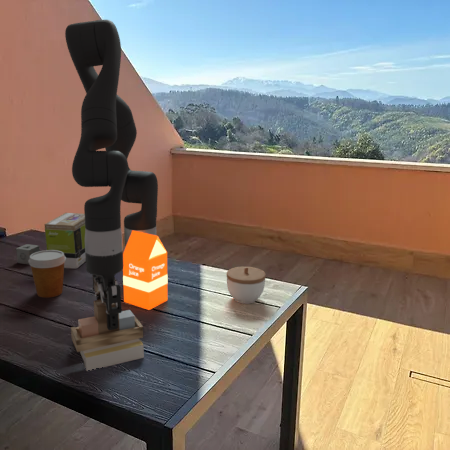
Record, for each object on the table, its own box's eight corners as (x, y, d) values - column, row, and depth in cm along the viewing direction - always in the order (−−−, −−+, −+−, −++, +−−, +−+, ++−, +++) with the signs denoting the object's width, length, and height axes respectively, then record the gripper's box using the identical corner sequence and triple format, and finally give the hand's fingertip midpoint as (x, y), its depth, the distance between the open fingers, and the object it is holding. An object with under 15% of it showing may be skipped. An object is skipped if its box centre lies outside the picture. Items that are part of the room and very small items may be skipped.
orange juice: (149, 314, 120) (147, 239, 115) (123, 305, 125) (121, 233, 120) (168, 303, 127) (167, 232, 122) (143, 295, 131) (141, 226, 126)
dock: (127, 332, 111) (127, 320, 110) (143, 357, 101) (143, 344, 100) (74, 344, 105) (74, 331, 104) (86, 371, 95) (85, 357, 94)
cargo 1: (95, 330, 102) (94, 316, 101) (98, 337, 99) (98, 323, 98) (79, 333, 101) (78, 319, 100) (82, 341, 98) (81, 326, 97)
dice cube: (17, 262, 154) (16, 248, 153) (27, 258, 159) (26, 244, 157) (30, 264, 153) (29, 250, 151) (40, 259, 157) (39, 245, 156)
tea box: (68, 252, 165) (65, 211, 161) (95, 254, 164) (93, 213, 160) (47, 267, 151) (43, 222, 147) (76, 269, 150) (74, 224, 146)
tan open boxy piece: (134, 325, 108) (133, 291, 106) (143, 337, 103) (142, 301, 101) (71, 338, 101) (69, 302, 99) (77, 352, 96) (74, 314, 94)
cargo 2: (130, 323, 106) (129, 309, 105) (134, 330, 103) (134, 315, 102) (115, 326, 104) (114, 312, 103) (119, 333, 101) (119, 318, 100)
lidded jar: (269, 295, 134) (271, 264, 131) (256, 310, 124) (257, 277, 122) (235, 288, 138) (236, 258, 135) (219, 302, 128) (220, 270, 126)
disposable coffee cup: (56, 305, 124) (53, 262, 121) (24, 301, 126) (20, 259, 123) (74, 291, 133) (72, 251, 130) (44, 288, 135) (41, 248, 132)
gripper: (132, 256, 92) (134, 331, 97) (113, 237, 104) (115, 304, 109) (93, 261, 89) (97, 339, 93) (78, 241, 101) (82, 310, 105)
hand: (107, 320), depth 101 cm, fingers open, 8 cm apart
